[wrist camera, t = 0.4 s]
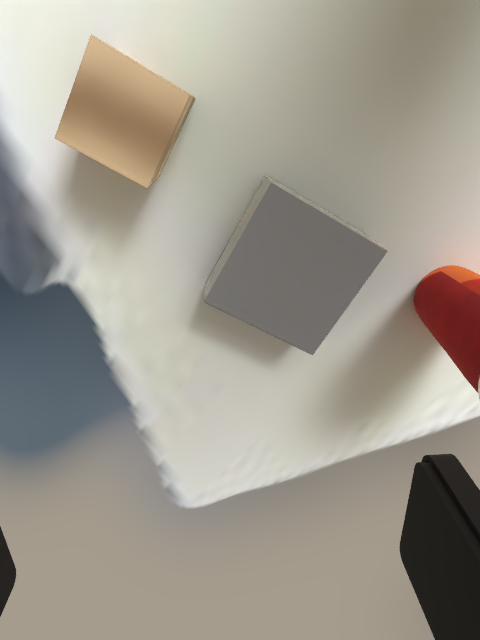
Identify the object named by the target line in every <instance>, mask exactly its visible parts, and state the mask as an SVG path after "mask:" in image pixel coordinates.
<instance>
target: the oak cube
mask: <svg viewBox="0 0 480 640" xmlns="http://www.w3.org/2000/svg"><path fill="white" fill-rule="evenodd" d="M194 100H195V98H194V97H193V96H191V95H189V94H188V93H186V92H185V91H183V90H181V89H180V88H178V87H176V86H175V85H173V84H172V83H170V82H168V81H167V80H165V79H163V78H162V77H160V76H159V75H157V74H155V73H154V72H152V71H150V70H149V69H147V68H146V67H144V66H142V65H141V64H139V63H137V62H136V61H134V60H133V59H131V58H129V57H128V56H126V55H124V54H123V53H121V52H120V51H118V50H116V49H115V48H113V47H111V46H110V45H108V44H106V43H105V42H103V41H101V40H99V39H98V38H96V37H94V36H93V35H91V36H90V39H89V42H88V45H87V47H86V50H85V53H84V56H83V59H82V62H81V65H80V67H79V70H78V73H77V76H76V79H75V82H74V84H73V87H72V90H71V93H70V96H69V99H68V101H67V104H66V107H65V110H64V113H63V116H62V119H61V121H60V124H59V127H58V130H57V133H56V136H55V139H57V140H59V141H61V142H62V143H64V144H66V145H68V146H70V147H72V148H74V149H75V150H77V151H79V152H81V153H83V154H85V155H86V156H88V157H90V158H92V159H94V160H96V161H98V162H99V163H101V164H103V165H105V166H107V167H109V168H110V169H112V170H114V171H116V172H118V173H120V174H122V175H123V176H125V177H127V178H129V179H131V180H133V181H134V182H136V183H138V184H140V185H142V186H144V187H146V188H148V187H149V186H150V185H151V184H152V183H153V182H154V181H155V180H156V179H157V178H158V177H159V176H160V173H161V171H162V169H163V167H164V165H165V163H166V160H167V158H168V156H169V154H170V152H171V150H172V147H173V145H174V143H175V141H176V139H177V137H178V134H179V132H180V130H181V128H182V126H183V124H184V121H185V119H186V117H187V115H188V113H189V110H190V108H191V106H192V104H193V102H194Z"/></svg>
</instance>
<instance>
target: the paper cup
mask: <svg viewBox="0 0 480 640" xmlns="http://www.w3.org/2000/svg"><path fill="white" fill-rule="evenodd" d="M414 307H415V310H416V312H417V314H418V316H419V317H420V319H421V320H422V321H423V323H424V324H425V325H426V327H427V328H428V329H429V331H430V332H431V333H432V335H433V336H434V337H435V338H436V340H437V341H438V342H439V343H440V345H441V346H442V347H443V349H444V350H445V351H446V352H447V354H448V355H449V356H450V358H451V359H452V360H453V362H454V363H455V364H456V366H457V367H458V369H459V370H460V371H461V373H462V374H463V375H464V377H465V378H466V379H467V380H468V382H469V383H470V384H471V385H472V386H473V388H474V389H475V390H476V391H477V392H478V394H479V399H480V275H478V274H476V273H474V272H472V271H470V270H468V269H465V268H462V267H459V266H445V267H441V268H438V269H436V270H434V271H432V272H431V273H429V274H428V275H427V276H426V277H425V278H424V279H423V280H422V281H421V282H420V284H419V285H418V287H417V289H416V291H415V295H414Z"/></svg>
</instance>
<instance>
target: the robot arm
mask: <svg viewBox="0 0 480 640" xmlns="http://www.w3.org/2000/svg"><path fill="white" fill-rule="evenodd" d="M400 554H401V558H402V562H403V564H404V567H405V569H406V571H407V574H408V576H409V579H410V581H411V583H412V585H413V588H414V590H415V593H416V595H417V598H418V600H419V602H420V605H421V607H422V609H423V612H424V614H425V617H426V619H427V621H428V624H429V626H430V629H431V631H432V633H433V636H434V638H435V640H480V490H479V489H478V487H477V486H476V485H475V483H474V482H473V480H472V479H471V478H470V476H469V475H468V473H467V472H466V470H465V469H464V468H463V466H462V465H461V463H460V462H459V461H458V459H457V458H456V457H455V456H454V455H452V454H441V455H425V456H424V457H423V459H422V462H420V463H416V465H415V468H414V474H413V479H412V484H411V490H410V494H409V499H408V504H407V510H406V515H405V521H404V525H403V530H402V536H401V541H400ZM15 579H16V568H15V565H14V563H13V560H12V557H11V554H10V551H9V549H8V546H7V543H6V541H5V538H4V536H3V532H2V530H1V527H0V616H1V614H2V612H3V609H4V607H5V605H6V603H7V600H8V598H9V596H10V593H11V591H12V589H13V586H14V583H15Z"/></svg>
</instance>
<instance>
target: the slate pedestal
mask: <svg viewBox="0 0 480 640" xmlns="http://www.w3.org/2000/svg"><path fill="white" fill-rule="evenodd" d="M386 253H387V250H386V249H385V248H383V247H382V246H381V245H380V244H379V243H377V242H376V241H375V240H374V239H373V238H372V237H370V236H369V235H367V234H365V233H363V232H362V231H360V230H358V229H357V228H355V227H353V226H352V225H350V224H348V223H347V222H345V221H343V220H342V219H340V218H338V217H336V216H335V215H333V214H331V213H330V212H328V211H326V210H325V209H323V208H321V207H320V206H318V205H316V204H315V203H313V202H311V201H310V200H308V199H306V198H304V197H303V196H301V195H299V194H298V193H296V192H294V191H293V190H291V189H289V188H288V187H286V186H284V185H283V184H281V183H279V182H277V181H276V180H274V179H272V178H271V177H269V176H267V175H265V177H264V179H263V181H262V182H261V184H260V186H259V188H258V190H257V191H256V193H255V195H254V197H253V198H252V200H251V202H250V204H249V206H248V207H247V209H246V211H245V213H244V215H243V216H242V218H241V220H240V222H239V224H238V225H237V227H236V229H235V231H234V233H233V234H232V236H231V238H230V240H229V241H228V243H227V245H226V247H225V249H224V250H223V252H222V254H221V256H220V258H219V259H218V261H217V263H216V265H215V267H214V268H213V270H212V272H211V274H210V276H209V277H208V279H207V281H206V283H205V292H204V302H205V303H207V304H209V305H211V306H213V307H215V308H217V309H219V310H221V311H223V312H226V313H228V314H230V315H232V316H234V317H236V318H238V319H240V320H242V321H244V322H246V323H248V324H250V325H252V326H254V327H256V328H258V329H260V330H262V331H264V332H266V333H268V334H270V335H273V336H275V337H277V338H279V339H281V340H283V341H285V342H287V343H289V344H291V345H293V346H295V347H297V348H299V349H301V350H303V351H305V352H307V353H309V354H311V355H313V354H314V353H315V351H316V350H317V348H318V347H319V346H320V344H321V343H322V341H323V340H324V339H325V337H326V336H327V335H328V333H329V332H330V330H331V329H332V328H333V326H334V325H335V323H336V322H337V321H338V319H339V318H340V316H341V315H342V314H343V312H344V311H345V310H346V308H347V307H348V305H349V304H350V303H351V301H352V300H353V298H354V297H355V296H356V294H357V293H358V291H359V290H360V289H361V287H362V286H363V285H364V283H365V282H366V280H367V279H368V278H369V276H370V275H371V273H372V272H373V271H374V269H375V268H376V267H377V265H378V264H379V262H380V261H381V260H382V258H383V257H384V255H385V254H386Z"/></svg>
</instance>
